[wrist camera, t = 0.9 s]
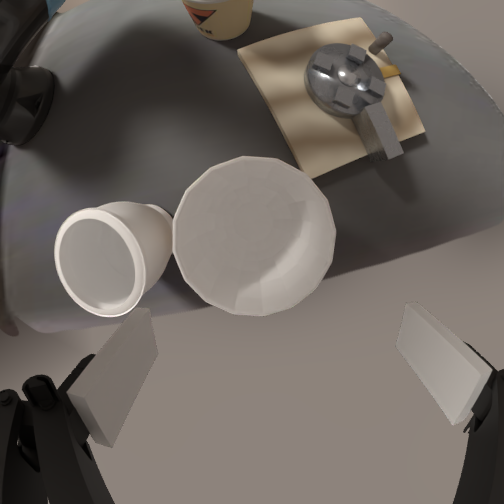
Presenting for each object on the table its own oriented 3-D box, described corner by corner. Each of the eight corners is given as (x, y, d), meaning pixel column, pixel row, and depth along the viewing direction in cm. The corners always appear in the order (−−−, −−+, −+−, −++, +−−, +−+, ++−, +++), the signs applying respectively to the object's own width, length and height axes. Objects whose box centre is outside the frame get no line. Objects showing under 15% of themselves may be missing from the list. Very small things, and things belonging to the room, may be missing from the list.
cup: (199, 244, 36) (158, 295, 20) (221, 158, 33) (192, 137, 17) (283, 266, 37) (306, 331, 20) (308, 182, 34) (357, 184, 18)
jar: (197, 214, 35) (160, 238, 21) (170, 281, 38) (130, 335, 23) (130, 185, 34) (64, 191, 20) (109, 251, 36) (47, 286, 22)
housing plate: (238, 55, 29) (235, 31, 23) (359, 22, 27) (375, 1, 20) (306, 184, 34) (319, 184, 27) (421, 135, 32) (449, 130, 25)
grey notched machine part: (289, 63, 28) (295, 46, 23) (352, 46, 27) (365, 30, 22) (346, 172, 31) (361, 171, 27) (405, 147, 30) (425, 144, 25)
